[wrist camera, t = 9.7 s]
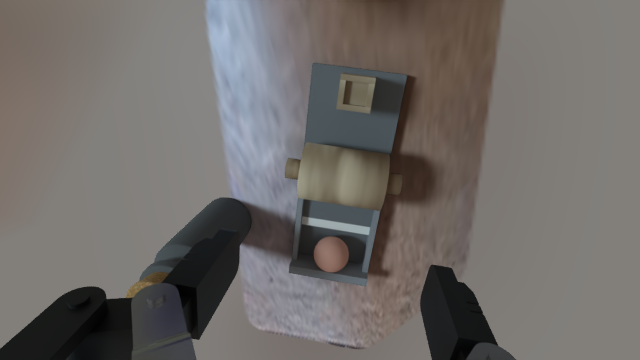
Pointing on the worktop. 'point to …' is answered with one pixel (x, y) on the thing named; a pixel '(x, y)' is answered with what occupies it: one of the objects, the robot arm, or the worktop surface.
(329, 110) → the grey long tray
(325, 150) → the maple rolling pin
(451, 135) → the worktop surface
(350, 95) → the light wooden block
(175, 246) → the bottle
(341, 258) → the ball
